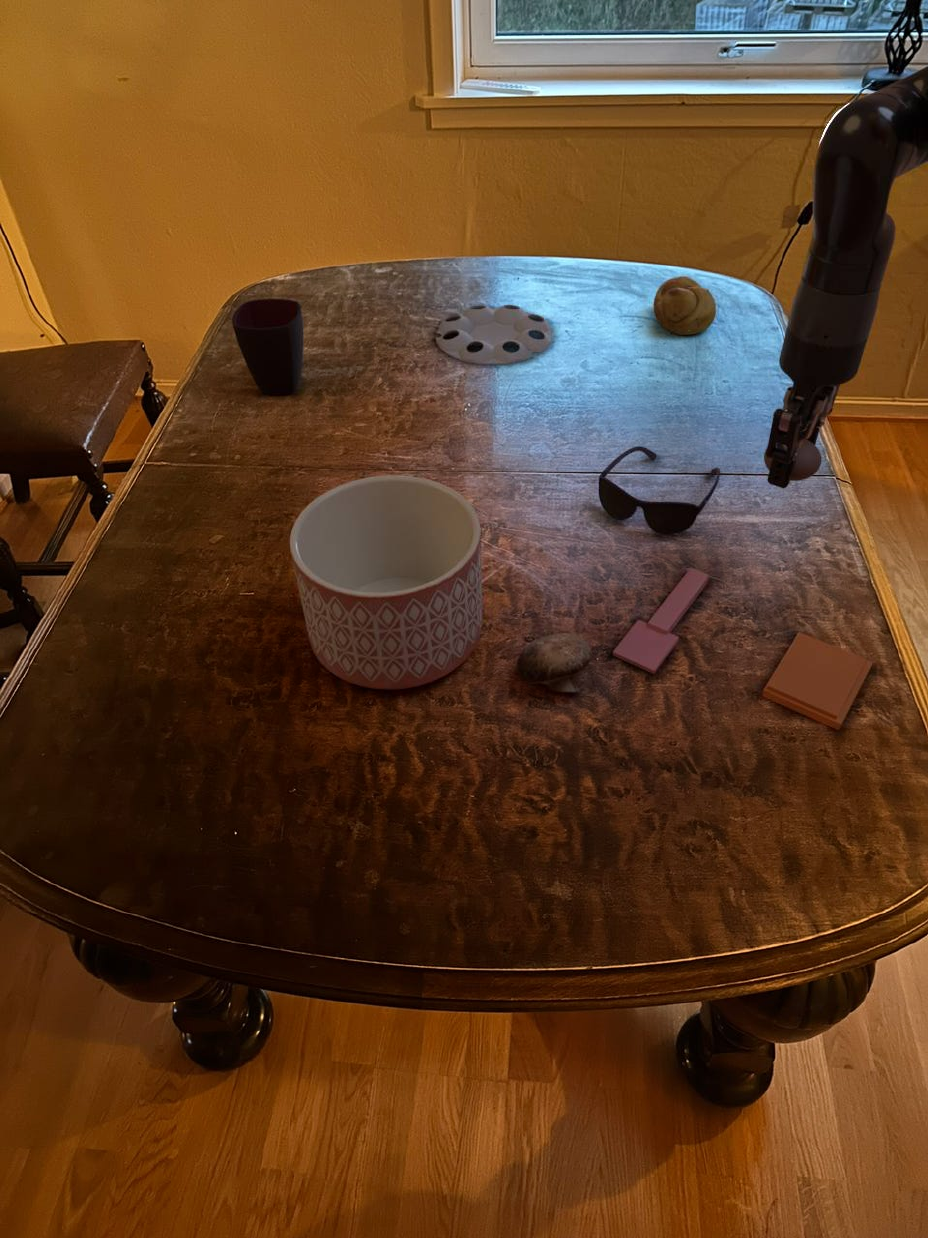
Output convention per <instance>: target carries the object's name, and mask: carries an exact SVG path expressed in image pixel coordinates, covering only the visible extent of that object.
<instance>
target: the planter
mask: <svg viewBox="0 0 928 1238" xmlns="http://www.w3.org/2000/svg"><path fill="white" fill-rule="evenodd" d="M289 550H290V554H291V555H290V556H291V561H292V566H293V569H294V574H295V580H296V584H297V588H298V592H299V598H300V602H301V603H300V604H301V606H302V611H303V616H304V621H305V626H306V630H307V634H308V639H309V643H310V646H311V649H312V652H313V654H314V655H315V657H316V659H317V660H318V662H319V663H320V664H321V665H322V666H323V667H324V668H325V669H326V670H327V671H329V672H330V673H332V674H333V675H334V676H335V677H336V678H337V677H338V678H340V680H344V681H345V682H347V683H350V684H353V685H356V686H358V687H363V688H369V689H374V690H388V691H389V690H405V689H410V688H416V687H420V686H423V685H427V684H430V683H432V682H434V681H436V680H439V679H441V678H444V677H445V676H447V675H448V674H450V673H451V672H453V671H455V670H457V668H459V667H460V666H461V665H463V663H465V661H467V659H468V658H469V657H470V656H471V654H473V652H474V651H475V649H476V648H477V645H478V643H479V641H480V638H481V635H482V629H483V582H482V581H483V578H482V577H483V573H482V571H483V570H482V530H481V522H480V519H479V515H478V514H477V511H476V510H475V509H474V507H473V505H472V504H471V503H470V502H469V501H468V499H466V498H465V497H464V496H463V495H461V494H460V493H459V492H457V491H456V490H454V489H453V488H452V487H449V486H448V485H445V484H443V483H440V482H437V481H434V480H431V479H427V478H424V477H418V476H411V475H394V474H393V475H392V474H391V475H377V476H370V477H364V478H360V479H356V480H351V481H349V482H346V483H343V484H341V485H338V486H336V487H334V488H331V489H329V490H327V491H326V492H324V493H322V494H320V495H319V496H317V497H316V498H315V499H314V500H313V501H311V502H309V504H307V505H306V507H305V508H303V510H302V511H301V512H300V514H299V515H298V516H297V517H296V519H295V521H294V523H293V526H292V528H291V531H290V536H289Z"/></svg>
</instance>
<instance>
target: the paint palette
mask: <svg viewBox="0 0 928 1238" xmlns="http://www.w3.org/2000/svg"><path fill="white" fill-rule="evenodd" d="M529 333H536V334H539V336H540V337H543V338H542V339H536V338H533V337H531V336H530V335H529ZM436 334H437V335H440V336H439V337H436V338H435V341H436V345H437V346H438V348H439V349H440V350H441V351H442V352H444V353H445V354H446V355H448V356H450V357H452V358H453V359H456V360H459V361H461V362H465V363H470V364H474V365H486V366H487V365H488V366H489V365H490V366H498V365H510V364H516V363H520V362H524V361H527V360H529V359H532V354H534V353H536V354H537V353H538V354H542V353H543V352H544V351H546V350H547V349H548V348H549V347H550V345H551V344H552V342H553V331H552V328H551V326H550V324H549V322H548V321H547V319H545V318H544V317H543V316H540V315H538V314H534V313H529V312H526V311H525V310H524V309H523V308H522V307H520V306H518V305H514V304H504V305H502V306H499V307H496V308H495V307H492V308H491V307H488V306H487V305H482V304H478V305H472V306H470V307H468V308H467V309H465V310H464V312H461V313H459V314H454V315H450V316H448V317H446V318H444V319H442V321H441V323H439V326H438V328H437V331H436ZM451 334H458V335H457V336H455V337H453V338H450V339H445V338H447V337H448V336H449V335H451ZM516 345H518V347H519V349H518V350H517V351H514V352H509V351H506V350H505V349H504V348H503V347H508V346H511V347H514V346H516ZM469 346H473V347H482V348H481V349H480V350H479V351H476V352H470V351H468V347H469Z"/></svg>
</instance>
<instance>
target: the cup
mask: <svg viewBox="0 0 928 1238" xmlns="http://www.w3.org/2000/svg"><path fill="white" fill-rule="evenodd" d="M303 322H304V321H303V313H302V306H301V304H300V302H299V301H298V300H293V299H286V298H261V299H254V300H253V299H252V300H248V301H246V302H244V303H242V304H241V305H239V306H238V308H237V309H236V310H235V311H234V313H233V314H232V317H231V324H232V328H233V331H234V335H235V338H236V342H237V345H238V347H239V350H240V352H241V355H242V357H243V359H244V362H245V364H246V367H247V369H248V371H249V373H250V375H251V377H252V379H253V380H254V382H255V384H256V386H257V388H258V390H259V391H260V392H261V394H263V395H268V396H289V395H293V394H295V392H297V390H298V389H299V387H300V385H301V379H302V373H303V365H304V363H303V362H304V323H303Z"/></svg>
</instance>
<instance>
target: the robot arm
mask: <svg viewBox="0 0 928 1238" xmlns="http://www.w3.org/2000/svg"><path fill="white" fill-rule="evenodd" d="M927 162H928V65H927V66H925V67H923V68H921V69H919V70H917V71H915V72H913V73H911V74H909V75H907V76H906V77H903V78H901V79H899V80H897V81H895V82H893V83H891V84H889V85H886V86H885V87H883V88H880V89H878V90H876V91H873V92H871V93H869V94H867V95H864V96H862V97H859V98H857V99H855V100H853V101H851V102H849V103H847V104H846V105H844V106H843V107H842V108H841V109H839V110H838V111H837V112H836V113H835V114H834V115H833V117H832V118H831V120H830V121H829V123H828V124H827V126H826V127H825V129H824V132H823V134H822V137H821V139H820V141H819V145H818V147H817V151H816V155H815V160H814V166H813V181H812V183H813V184H812V187H813V188H812V220H813V221H812V223H813V231H812V234H811V238H810V241H809V244H808V247H807V252H806V257H805V261H804V266H803V269H802V273H801V278H800V281H799V283H798V286H797V288H796V291H795V294H794V296H793V299H792V300H793V301H792V303H791V308H790V312H789V316H788V321H787V325H786V328H785V329H786V330H785V334H784V338H783V341H782V346H781V350H780V353H779V354H780V355H779V358H778V365H779V368H780V369H781V371H782V372H783V374H784V375H786V376H787V377H788V378H789V379H790V380H791V382H792V384H793V385H792V386H791V385H789V386H788V387H787V388H786V390H785V393H784V396H783V400H782V403H783V405H782V408H780V407H778V408H776V409H775V411H774V412H773V414H772V421H771V427H770V432H769V437H768V442H767V447H766V448H767V451H766V457H768V458H771V459H772V463H771V467H770V471H769V470H768V475H767V483H768V484H769V485H772V486H775V487H778V488H781V489H785V488H787V487H788V486H789V485H790V483H791V481H790V480H791V476H792V473H793V469H794V465H795V462H796V458H798V455H799V454H798V453H799V451H800V448H801V446H802V443H803V441H804V440H805V439H806V440H808V441H810V442H812V443H813V444H814V445H815V446H816V443H817V440H818V437H819V433H820V430H821V429H822V428H823V426H825V424H826V419H827V417H828V416H830V415H831V414H832V412H833V410H834V408H833V407H834V404H835V402H836V399H837V395H838V393H839V389H840V386H841V385H844V384H846V383H849V382H850V381H851V380H852V379H854V378H855V377H856V376H857V374H858V371H859V368H860V366H861V362H862V359H863V355H864V352H865V350H866V349H865V348H866V346H867V342H868V340H869V337H870V334H871V333H870V332H871V329H872V326H873V323H874V320H875V316H876V313H877V309H878V304H879V298H880V294H881V293H880V292H881V288H882V284H883V281H884V277H885V273H886V271H887V267H888V263H889V261H890V257H891V254H892V251H893V248H894V244H895V238H896V229H897V228H896V224H895V223H896V222H895V220H894V219H893V218H892V216H891V215H890V214H889V213H888V212H887V210H888V203H889V199H890V193H891V190H892V187H893V184H894V181H895V180H896V179H898V178H899V177H901V176H903V175H905V174H907V173H909V172H910V171H912V170H914V169H916V168H918V167H920V166H922V165H924V164H926V163H927ZM782 444H783V445H782Z"/></svg>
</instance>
